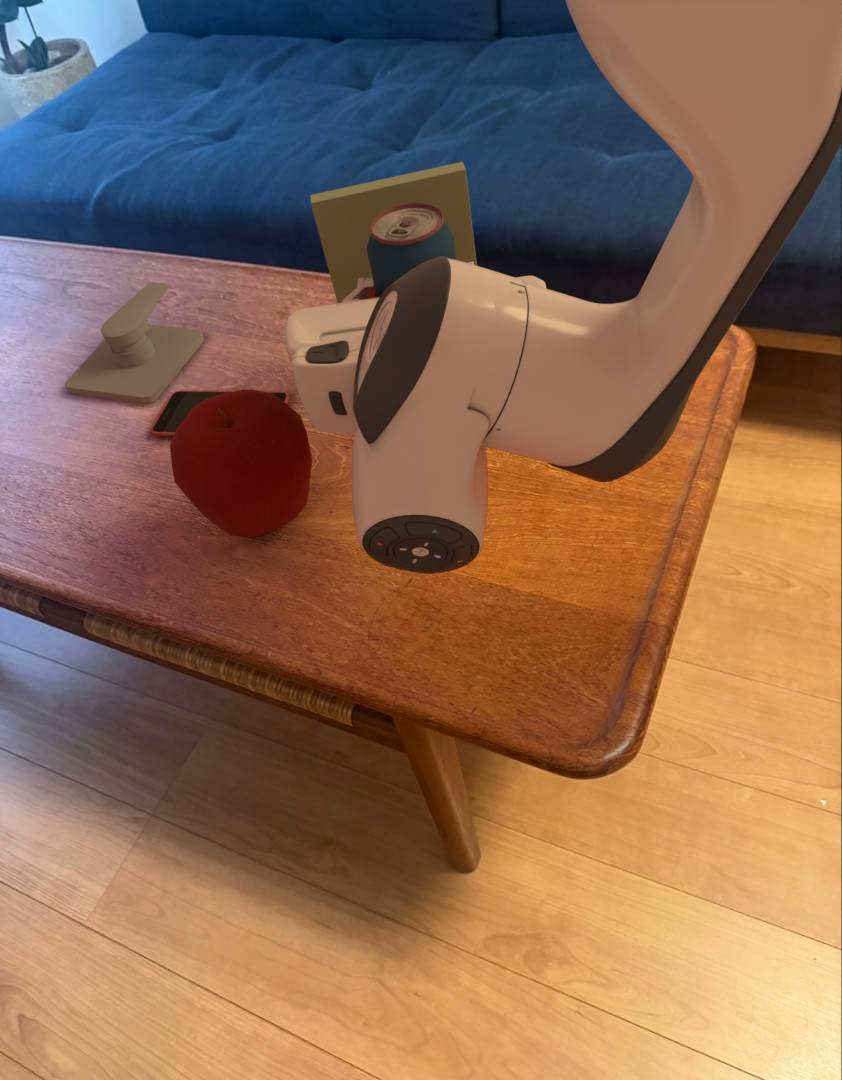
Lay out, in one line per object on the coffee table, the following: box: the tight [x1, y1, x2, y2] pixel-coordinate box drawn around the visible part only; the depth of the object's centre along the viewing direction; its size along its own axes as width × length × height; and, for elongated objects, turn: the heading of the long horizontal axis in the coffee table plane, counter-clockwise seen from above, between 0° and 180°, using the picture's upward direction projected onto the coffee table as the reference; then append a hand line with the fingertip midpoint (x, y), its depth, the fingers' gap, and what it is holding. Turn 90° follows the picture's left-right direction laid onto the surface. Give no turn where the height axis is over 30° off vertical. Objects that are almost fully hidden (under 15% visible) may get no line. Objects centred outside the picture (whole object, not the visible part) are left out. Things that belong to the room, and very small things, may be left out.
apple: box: [169, 389, 313, 538], centre depth 71 cm, size 12×12×13 cm
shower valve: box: [64, 282, 205, 405], centre depth 95 cm, size 12×6×15 cm
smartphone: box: [151, 390, 290, 437], centre depth 87 cm, size 7×1×14 cm
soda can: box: [367, 203, 457, 298], centre depth 67 cm, size 7×7×12 cm
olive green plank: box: [309, 161, 478, 304], centre depth 80 cm, size 14×2×20 cm, turn 98°
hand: (416, 277), depth 68 cm, fingers closed on soda can, 7 cm apart
